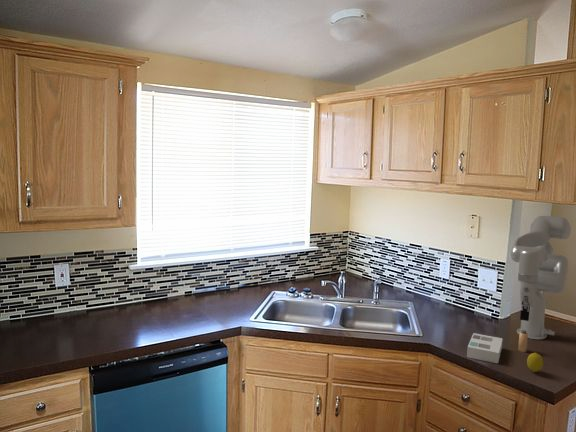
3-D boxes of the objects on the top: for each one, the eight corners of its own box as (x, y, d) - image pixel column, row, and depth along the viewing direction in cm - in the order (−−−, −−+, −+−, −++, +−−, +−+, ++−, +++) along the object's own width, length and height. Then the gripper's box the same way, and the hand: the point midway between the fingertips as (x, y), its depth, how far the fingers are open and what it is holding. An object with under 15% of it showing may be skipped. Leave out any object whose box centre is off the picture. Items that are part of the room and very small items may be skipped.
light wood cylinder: (526, 350, 200) (528, 330, 198) (526, 352, 197) (527, 332, 196) (518, 348, 201) (519, 328, 200) (518, 351, 198) (519, 331, 197)
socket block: (501, 348, 201) (502, 338, 200) (498, 363, 185) (498, 352, 185) (472, 342, 207) (473, 332, 206) (466, 357, 191) (467, 346, 191)
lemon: (523, 368, 181) (525, 349, 180) (538, 369, 181) (540, 350, 180) (529, 375, 176) (531, 355, 175) (544, 375, 175) (546, 356, 174)
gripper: (537, 283, 186) (534, 324, 187) (538, 275, 201) (534, 313, 202) (517, 281, 189) (513, 321, 191) (519, 273, 204) (516, 310, 206)
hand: (524, 317), depth 197 cm, fingers open, 9 cm apart
